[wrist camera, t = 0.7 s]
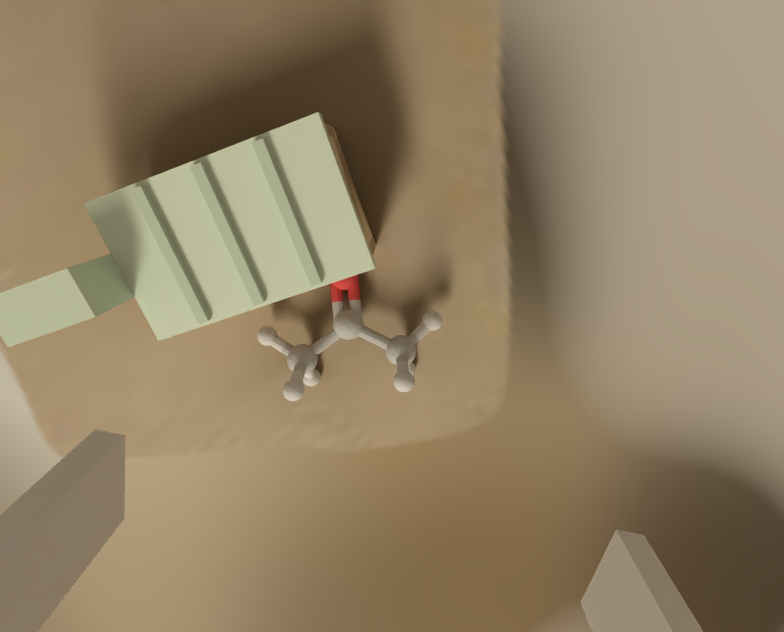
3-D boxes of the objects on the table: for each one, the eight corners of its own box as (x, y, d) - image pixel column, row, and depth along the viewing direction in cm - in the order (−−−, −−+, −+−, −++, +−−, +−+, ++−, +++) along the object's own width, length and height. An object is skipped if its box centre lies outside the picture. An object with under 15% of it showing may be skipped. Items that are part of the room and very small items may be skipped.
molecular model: (274, 276, 41) (285, 388, 41) (232, 269, 33) (246, 406, 33) (437, 257, 39) (449, 375, 39) (432, 245, 31) (446, 392, 31)
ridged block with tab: (14, 232, 30) (-59, 246, 25) (321, 113, 27) (303, 104, 22) (92, 360, 33) (39, 394, 28) (376, 265, 30) (370, 285, 25)
